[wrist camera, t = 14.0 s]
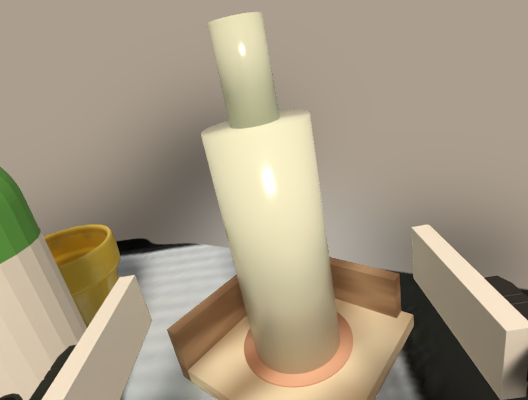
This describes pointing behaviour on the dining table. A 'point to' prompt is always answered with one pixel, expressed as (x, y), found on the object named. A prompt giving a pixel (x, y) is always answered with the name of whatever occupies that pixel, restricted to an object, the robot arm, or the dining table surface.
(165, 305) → the dining table surface
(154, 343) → the dining table surface
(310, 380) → the dock
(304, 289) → the bottle
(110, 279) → the plant pot
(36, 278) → the wine bottle
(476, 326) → the robot arm
